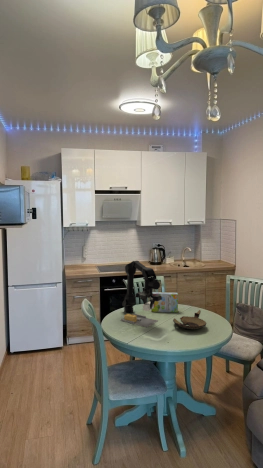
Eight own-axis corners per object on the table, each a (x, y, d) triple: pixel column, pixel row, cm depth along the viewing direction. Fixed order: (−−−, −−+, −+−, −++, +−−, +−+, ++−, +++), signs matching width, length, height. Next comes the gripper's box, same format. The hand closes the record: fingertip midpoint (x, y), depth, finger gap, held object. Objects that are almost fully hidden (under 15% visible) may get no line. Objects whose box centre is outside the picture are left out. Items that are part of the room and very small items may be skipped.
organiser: (120, 322, 228) (120, 318, 228) (132, 316, 241) (132, 313, 241) (147, 329, 215) (147, 325, 214) (158, 322, 228) (158, 319, 227)
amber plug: (133, 322, 223) (133, 317, 223) (123, 320, 228) (123, 314, 228) (136, 321, 226) (136, 315, 226) (126, 318, 232) (126, 313, 231)
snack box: (177, 310, 256) (177, 292, 255) (177, 312, 251) (178, 294, 250) (151, 309, 258) (151, 291, 257) (151, 311, 253) (151, 293, 252)
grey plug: (142, 309, 220) (142, 304, 220) (149, 306, 228) (149, 301, 228) (147, 311, 218) (147, 305, 218) (154, 307, 226) (154, 302, 225)
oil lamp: (165, 326, 220) (165, 315, 220) (195, 318, 238) (195, 308, 237) (188, 336, 202) (189, 325, 202) (219, 327, 220) (219, 316, 219)
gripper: (131, 286, 220) (131, 308, 221) (154, 290, 210) (153, 313, 211) (139, 284, 229) (139, 305, 230) (162, 287, 219) (162, 309, 220)
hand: (148, 308), depth 223 cm, fingers closed on grey plug, 4 cm apart
